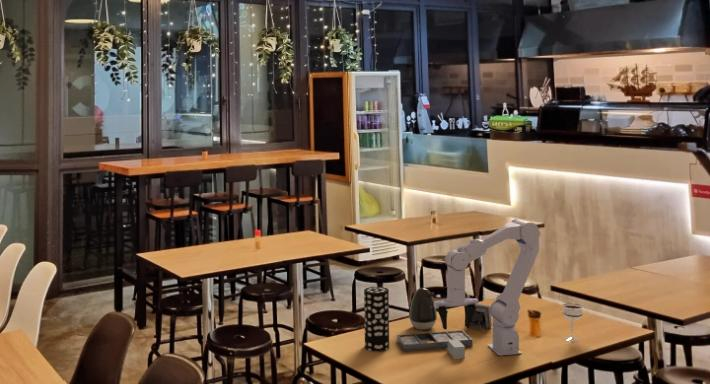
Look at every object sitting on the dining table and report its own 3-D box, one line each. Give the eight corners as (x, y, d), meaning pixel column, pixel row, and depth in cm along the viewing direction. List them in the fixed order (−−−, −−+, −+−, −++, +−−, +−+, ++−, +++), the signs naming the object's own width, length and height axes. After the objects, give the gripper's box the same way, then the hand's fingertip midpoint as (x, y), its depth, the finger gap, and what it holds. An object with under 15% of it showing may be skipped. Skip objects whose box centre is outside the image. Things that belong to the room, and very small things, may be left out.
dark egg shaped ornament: (423, 334, 223) (423, 293, 221) (403, 327, 231) (403, 287, 229) (443, 328, 229) (443, 288, 228) (422, 321, 237) (422, 282, 236)
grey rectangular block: (464, 358, 200) (464, 346, 200) (454, 359, 199) (454, 347, 199) (457, 350, 207) (457, 339, 206) (447, 351, 206) (447, 339, 206)
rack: (472, 346, 210) (472, 339, 210) (404, 351, 206) (404, 344, 206) (462, 336, 220) (462, 329, 220) (397, 341, 216) (396, 334, 216)
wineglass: (572, 334, 220) (573, 302, 219) (586, 341, 214) (587, 307, 212) (557, 337, 217) (558, 304, 216) (570, 343, 211) (571, 309, 210)
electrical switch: (492, 327, 229) (491, 303, 228) (487, 332, 225) (486, 308, 223) (468, 323, 235) (467, 300, 233) (463, 328, 230) (462, 305, 229)
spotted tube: (374, 341, 217) (373, 285, 214) (394, 346, 211) (393, 289, 209) (359, 348, 210) (359, 290, 208) (379, 353, 205) (378, 294, 203)
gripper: (472, 282, 206) (472, 322, 207) (431, 285, 203) (431, 325, 205) (480, 288, 199) (480, 329, 200) (437, 291, 196) (437, 332, 198)
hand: (455, 327), depth 202 cm, fingers open, 7 cm apart
